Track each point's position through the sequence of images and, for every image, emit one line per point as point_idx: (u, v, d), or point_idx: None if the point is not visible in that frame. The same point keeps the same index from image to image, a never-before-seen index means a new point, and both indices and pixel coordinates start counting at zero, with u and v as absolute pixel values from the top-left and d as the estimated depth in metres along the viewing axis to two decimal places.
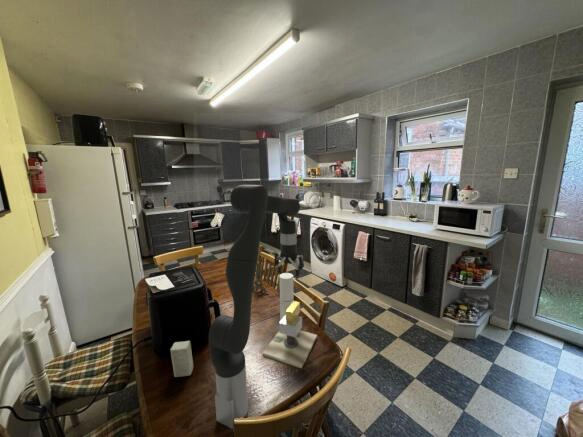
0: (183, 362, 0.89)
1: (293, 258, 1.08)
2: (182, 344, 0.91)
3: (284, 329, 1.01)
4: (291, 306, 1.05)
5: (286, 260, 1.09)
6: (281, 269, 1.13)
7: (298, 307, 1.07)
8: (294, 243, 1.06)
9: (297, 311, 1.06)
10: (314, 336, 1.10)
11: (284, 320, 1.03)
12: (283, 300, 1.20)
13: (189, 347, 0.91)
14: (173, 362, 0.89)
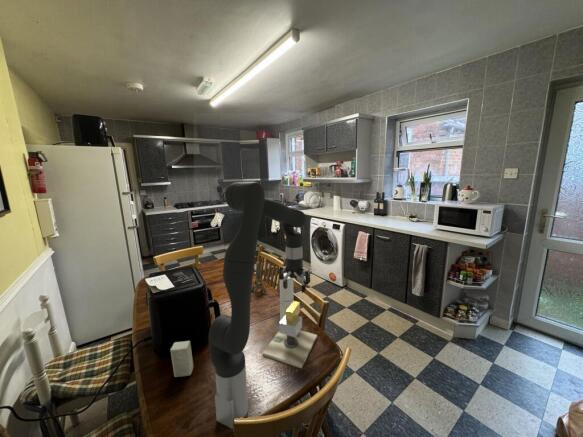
0: (183, 362, 0.89)
1: (299, 273, 1.02)
2: (182, 344, 0.91)
3: (284, 329, 1.01)
4: (291, 306, 1.05)
5: (291, 275, 1.03)
6: (286, 284, 1.07)
7: (298, 307, 1.07)
8: (300, 257, 1.00)
9: (297, 311, 1.06)
10: (314, 336, 1.10)
11: (284, 320, 1.03)
12: (283, 300, 1.20)
13: (189, 347, 0.91)
14: (173, 362, 0.89)
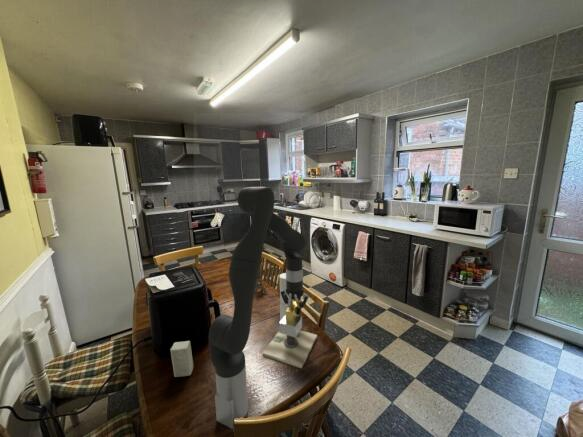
0: (183, 362, 0.89)
1: (299, 296, 1.04)
2: (182, 344, 0.91)
3: (284, 329, 1.01)
4: (291, 306, 1.05)
5: (292, 296, 1.05)
6: None
7: None
8: (300, 280, 1.02)
9: None
10: (314, 336, 1.10)
11: (284, 320, 1.03)
12: (283, 300, 1.20)
13: (189, 347, 0.91)
14: (173, 362, 0.89)
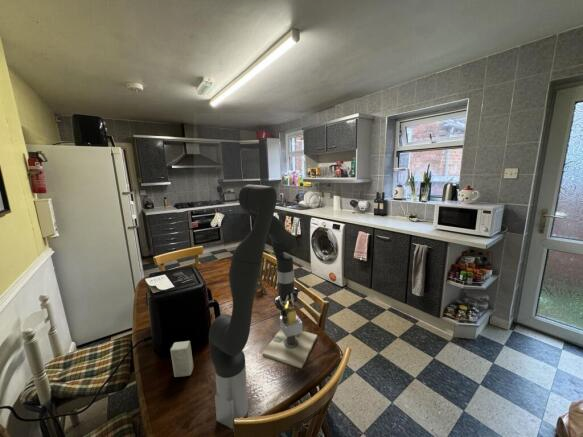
0: (183, 362, 0.89)
1: (292, 293, 1.06)
2: (182, 344, 0.91)
3: (291, 331, 1.00)
4: (287, 307, 1.04)
5: None
6: None
7: None
8: None
9: None
10: (314, 336, 1.10)
11: (287, 323, 1.01)
12: None
13: (189, 347, 0.91)
14: (173, 362, 0.89)
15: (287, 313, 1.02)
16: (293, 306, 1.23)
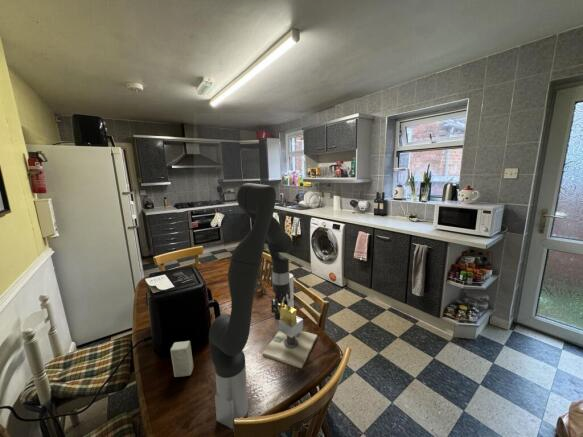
0: (183, 362, 0.89)
1: (286, 293, 1.06)
2: (182, 344, 0.91)
3: (295, 330, 1.01)
4: (285, 308, 1.04)
5: None
6: None
7: None
8: None
9: None
10: (314, 336, 1.10)
11: (290, 323, 1.01)
12: None
13: (189, 347, 0.91)
14: (173, 362, 0.89)
15: (288, 314, 1.02)
16: (293, 306, 1.23)
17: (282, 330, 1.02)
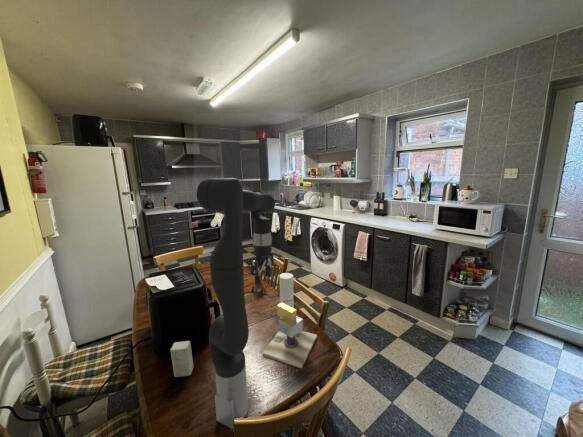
0: (183, 362, 0.89)
1: (268, 257, 1.00)
2: (182, 344, 0.91)
3: (295, 330, 1.01)
4: (285, 308, 1.04)
5: None
6: None
7: None
8: None
9: None
10: (314, 336, 1.10)
11: (290, 323, 1.01)
12: (283, 300, 1.20)
13: (189, 347, 0.91)
14: (173, 362, 0.89)
15: (288, 314, 1.02)
16: (293, 306, 1.23)
17: (282, 330, 1.02)
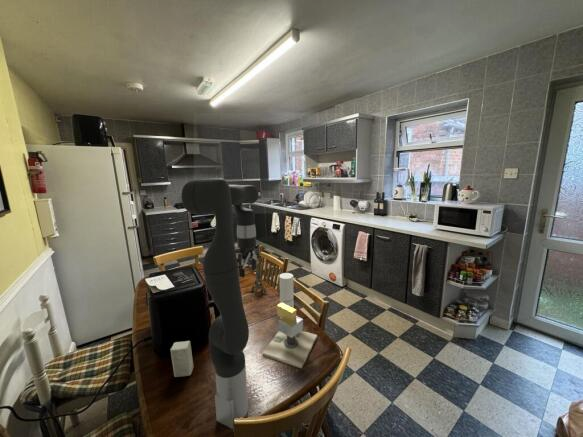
0: (183, 362, 0.89)
1: (253, 250, 0.98)
2: (182, 344, 0.91)
3: (295, 330, 1.01)
4: (285, 308, 1.04)
5: None
6: None
7: None
8: None
9: None
10: (314, 336, 1.10)
11: (290, 323, 1.01)
12: (283, 300, 1.20)
13: (189, 347, 0.91)
14: (173, 362, 0.89)
15: (288, 314, 1.02)
16: (293, 306, 1.23)
17: (282, 330, 1.02)
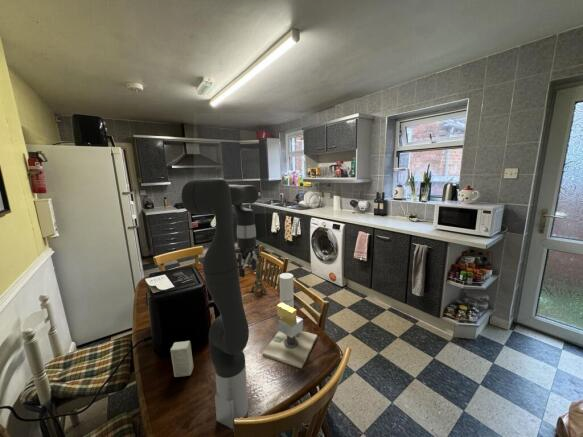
0: (183, 362, 0.89)
1: (253, 250, 0.98)
2: (182, 344, 0.91)
3: (295, 330, 1.01)
4: (285, 308, 1.04)
5: None
6: None
7: None
8: None
9: None
10: (314, 336, 1.10)
11: (290, 323, 1.01)
12: (283, 300, 1.20)
13: (189, 347, 0.91)
14: (173, 362, 0.89)
15: (288, 314, 1.02)
16: (293, 306, 1.23)
17: (282, 330, 1.02)
